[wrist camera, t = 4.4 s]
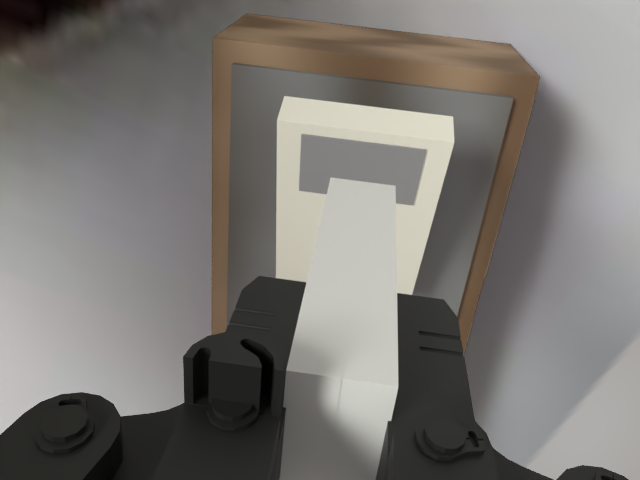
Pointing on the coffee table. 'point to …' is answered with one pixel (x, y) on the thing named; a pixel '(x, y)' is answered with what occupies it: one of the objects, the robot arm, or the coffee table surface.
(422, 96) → the wooden storage box
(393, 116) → the rocker
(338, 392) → the robot arm
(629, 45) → the coffee table surface
